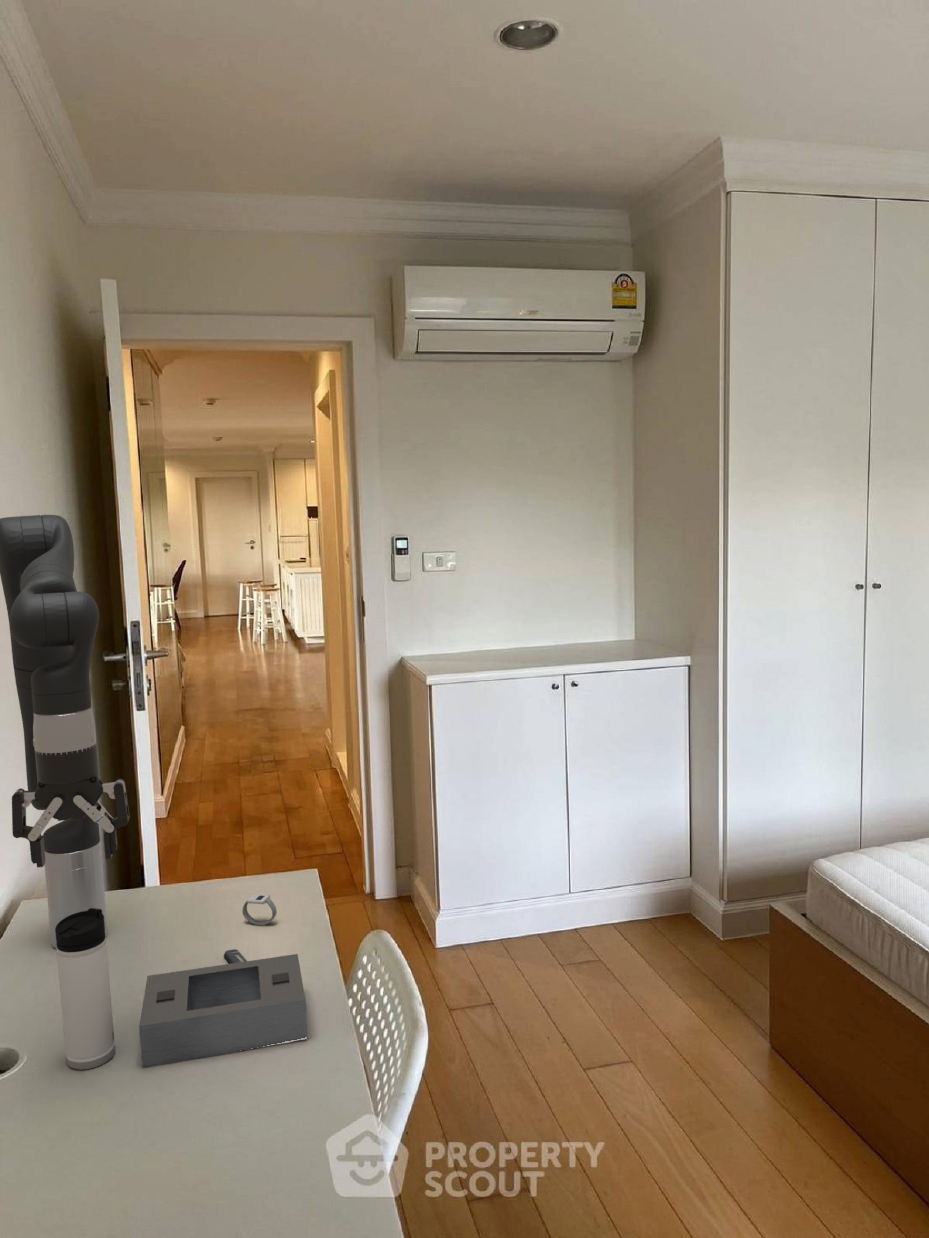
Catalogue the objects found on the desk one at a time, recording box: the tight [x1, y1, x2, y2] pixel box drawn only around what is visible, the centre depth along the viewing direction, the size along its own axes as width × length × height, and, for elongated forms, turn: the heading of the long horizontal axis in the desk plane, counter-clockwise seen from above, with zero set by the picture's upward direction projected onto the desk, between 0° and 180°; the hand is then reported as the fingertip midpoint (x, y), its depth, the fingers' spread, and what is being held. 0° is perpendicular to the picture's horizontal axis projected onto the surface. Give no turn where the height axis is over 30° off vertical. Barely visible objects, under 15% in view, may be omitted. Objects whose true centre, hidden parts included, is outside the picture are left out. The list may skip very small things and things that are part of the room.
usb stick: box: [223, 948, 248, 964], centre depth 152 cm, size 10×3×2 cm, turn 33°
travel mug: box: [55, 908, 116, 1071], centre depth 126 cm, size 6×7×20 cm
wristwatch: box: [242, 893, 277, 926], centre depth 167 cm, size 6×3×5 cm, turn 77°
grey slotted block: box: [138, 953, 308, 1069], centre depth 133 cm, size 14×22×6 cm, turn 104°
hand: (75, 861), depth 124 cm, fingers open, 8 cm apart
